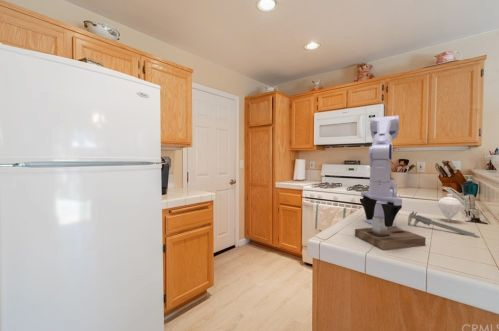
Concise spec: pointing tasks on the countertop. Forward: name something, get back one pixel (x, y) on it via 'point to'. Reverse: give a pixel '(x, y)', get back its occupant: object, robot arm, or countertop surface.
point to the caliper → (437, 224)
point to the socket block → (391, 238)
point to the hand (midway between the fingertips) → (378, 222)
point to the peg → (379, 227)
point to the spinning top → (449, 206)
